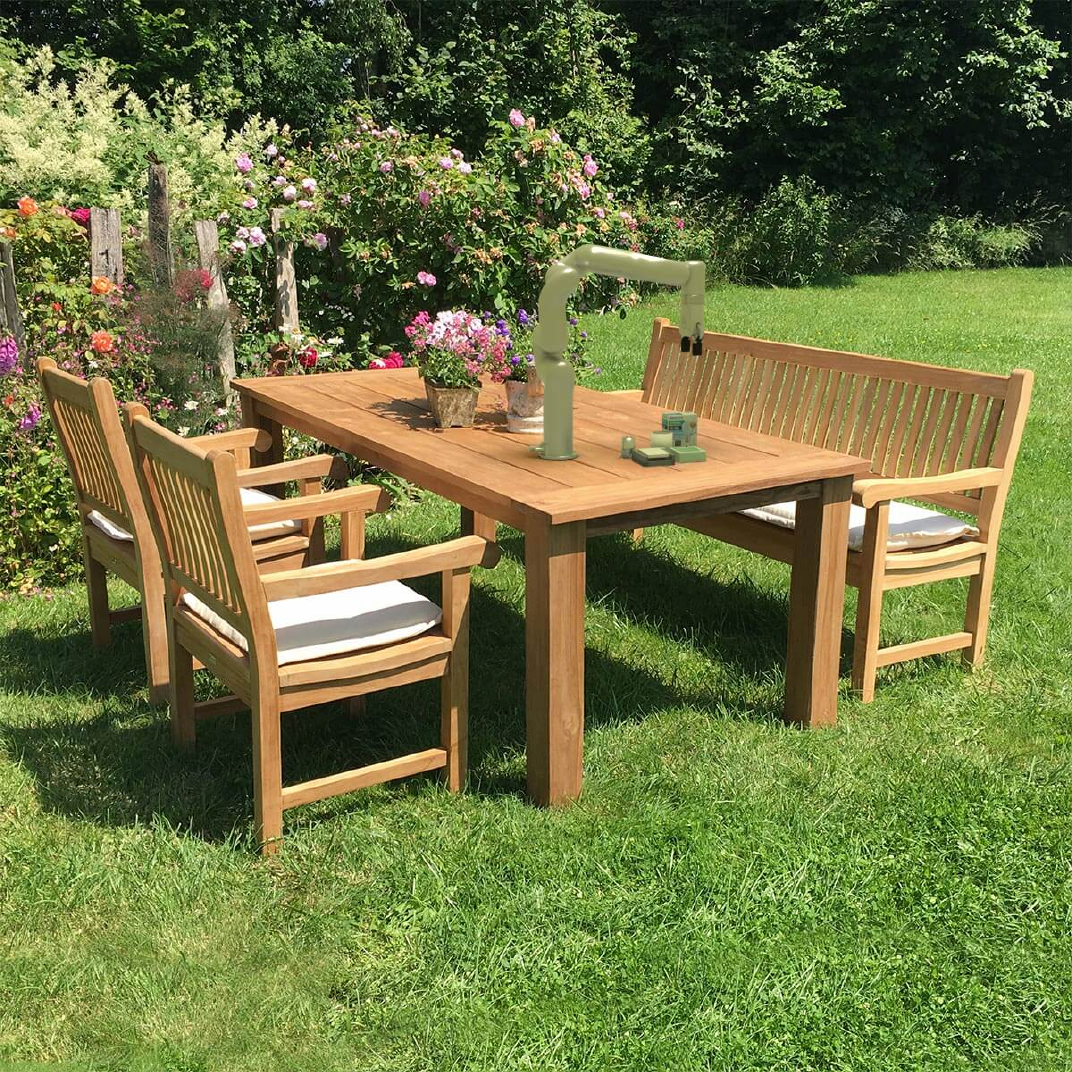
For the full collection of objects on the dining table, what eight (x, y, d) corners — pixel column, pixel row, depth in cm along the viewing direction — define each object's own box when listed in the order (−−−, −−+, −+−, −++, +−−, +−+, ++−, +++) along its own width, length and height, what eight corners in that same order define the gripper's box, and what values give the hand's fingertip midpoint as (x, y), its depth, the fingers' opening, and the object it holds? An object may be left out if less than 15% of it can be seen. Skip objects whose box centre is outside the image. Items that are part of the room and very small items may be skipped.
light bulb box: (667, 448, 398) (668, 415, 395) (660, 444, 404) (661, 412, 401) (697, 446, 401) (698, 414, 398) (689, 442, 407) (690, 410, 404)
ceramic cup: (654, 456, 384) (655, 434, 382) (647, 452, 391) (647, 430, 389) (675, 455, 386) (675, 433, 384) (667, 451, 393) (667, 429, 391)
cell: (624, 459, 381) (624, 437, 379) (619, 456, 385) (619, 435, 383) (637, 458, 382) (637, 436, 380) (632, 455, 386) (632, 434, 384)
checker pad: (648, 458, 370) (648, 455, 370) (637, 451, 380) (637, 448, 379) (669, 456, 372) (669, 453, 372) (657, 450, 381) (657, 447, 381)
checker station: (644, 467, 370) (644, 456, 369) (631, 459, 381) (631, 448, 380) (676, 464, 372) (676, 454, 371) (662, 457, 384) (662, 446, 383)
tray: (679, 462, 375) (679, 453, 374) (668, 457, 384) (669, 447, 383) (706, 461, 377) (706, 451, 377) (694, 455, 386) (695, 446, 385)
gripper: (671, 298, 391) (670, 351, 396) (692, 302, 375) (690, 357, 380) (693, 297, 393) (691, 350, 398) (714, 302, 377) (712, 356, 382)
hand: (691, 353), depth 389 cm, fingers open, 9 cm apart
